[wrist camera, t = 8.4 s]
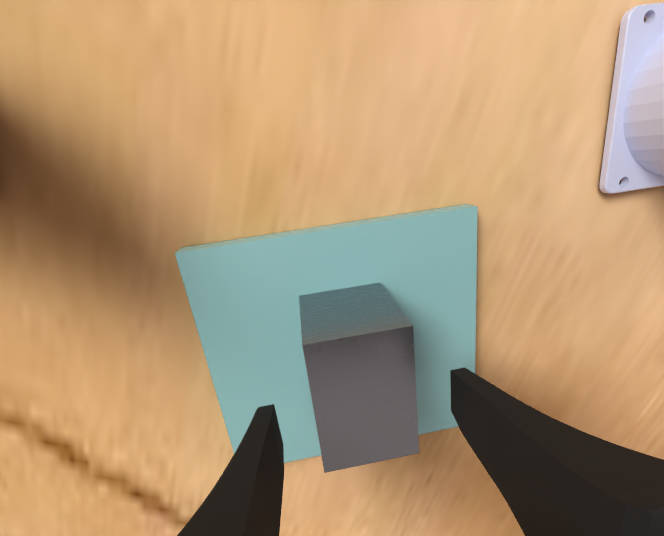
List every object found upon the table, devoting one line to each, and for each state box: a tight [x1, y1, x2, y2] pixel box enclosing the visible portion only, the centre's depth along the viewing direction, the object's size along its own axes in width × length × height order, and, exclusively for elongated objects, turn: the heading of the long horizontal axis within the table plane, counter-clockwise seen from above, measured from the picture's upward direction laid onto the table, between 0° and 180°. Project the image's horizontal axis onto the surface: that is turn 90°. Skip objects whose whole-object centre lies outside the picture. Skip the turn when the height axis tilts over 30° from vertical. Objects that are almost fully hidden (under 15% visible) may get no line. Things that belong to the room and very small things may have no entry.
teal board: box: [175, 204, 477, 463], centre depth 17 cm, size 14×13×1 cm
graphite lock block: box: [299, 282, 419, 473], centre depth 14 cm, size 4×6×4 cm, turn 7°
